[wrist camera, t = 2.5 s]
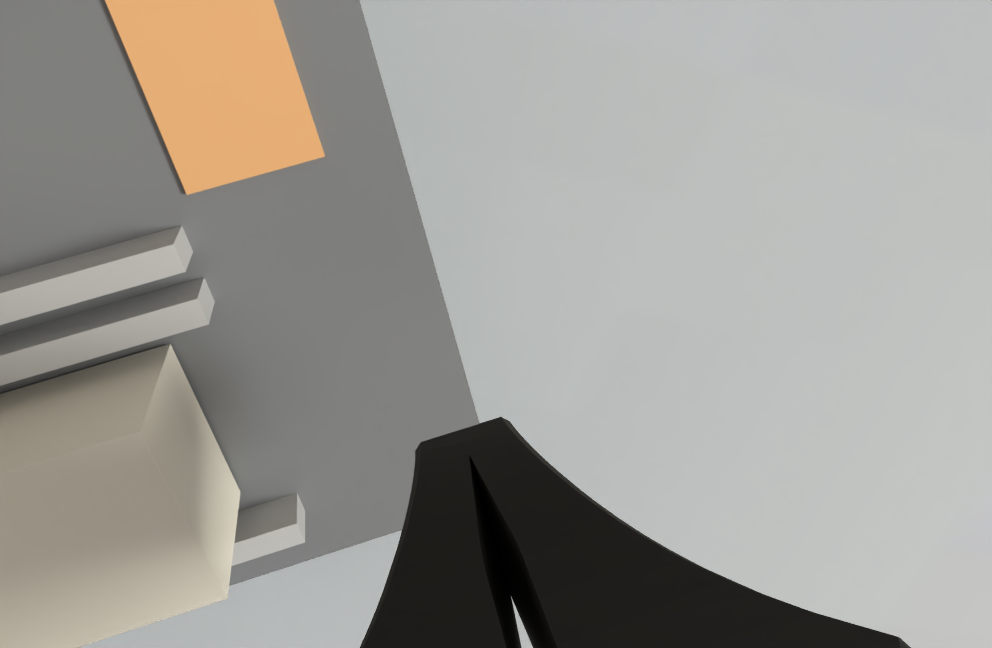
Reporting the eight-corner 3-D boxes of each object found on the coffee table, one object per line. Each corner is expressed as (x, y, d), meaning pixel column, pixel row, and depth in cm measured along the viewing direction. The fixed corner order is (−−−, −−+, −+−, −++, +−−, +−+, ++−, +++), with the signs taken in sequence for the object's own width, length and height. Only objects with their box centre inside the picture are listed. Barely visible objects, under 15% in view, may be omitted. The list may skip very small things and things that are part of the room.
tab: (240, 492, 16) (227, 598, 14) (40, 554, 16) (-13, 676, 13) (169, 343, 15) (139, 431, 12) (-54, 409, 14) (-137, 515, 12)
